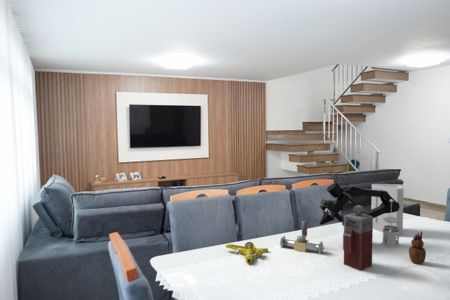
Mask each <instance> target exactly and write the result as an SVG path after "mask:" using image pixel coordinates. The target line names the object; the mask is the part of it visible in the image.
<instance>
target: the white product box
mask: <svg viewBox="0 0 450 300" xmlns="http://www.w3.org/2000/svg"><path fill="white" fill-rule="evenodd" d="M371 189H374V190H384V191H387V192H388V194H389V195H390V196H391V197H392V198H393V199H394V200H395V201H396V202H398V203H399V206H400V207H399V210H398V211H397V212H393V213H385V214H382V215H380V216H378V217H375V218H373V230H376V231H379V232H382V233H383V229H384V226H387V225H388V222H386V221H384V220H383V219H384V218H385V217H394V218H397V219H398V220H399V222H398V223H392V226H396V227H398V229H397V230H399V235H398V236H399V237H401V236H403V235H404V234H403V230H404V228H403V227H404V224H403V223H404V185H403V184H400V183H399V184H396V183H395V184H394V183H393V184H392V183H390V184H389V183H372V184H371ZM381 203H382V201H381V199H380V197H373V196H371V205H370V206H371V209H370V210H372V209H374V208H376V207H378V206H380V204H381ZM389 225H390V226H391V223H390V222H389ZM389 232H391V230H389Z"/></svg>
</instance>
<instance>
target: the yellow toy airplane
mask: <svg viewBox="0 0 450 300" xmlns="http://www.w3.org/2000/svg"><path fill="white" fill-rule="evenodd" d="M225 248H228V249H231V250H234V251H237V250H238V251H237V252H238V253H240V254H241V255H243V256H244V257H245V262H246V263H247V264H252V263H253V260H254V261H257V259H256V258H257V257H261V256H263V254H264V253H263V252H268V251H269V248H268V247H260V248H257V247H256V245H255V244H254V243H253V242H252V241H247V242H246V243H244V246H243V245H238V244H232V243H227V244H225Z"/></svg>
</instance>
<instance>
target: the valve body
mask: <svg viewBox="0 0 450 300" xmlns="http://www.w3.org/2000/svg"><path fill="white" fill-rule="evenodd" d="M279 244H280V245H279V246H280V248H284V247H285V248H290V249H293V250H294V251H297V252H304V253H306V252H307V251H308V252H314V253H318V254H319V255H321V254H323V253H324V244H323V241H320V242H319V243H312V242H309V239H306V241H305V242H299V241H297V238H296V239H294V240H293V239H287V238H286V236H284V235H283V236H282V237H281V238H280V241H279Z"/></svg>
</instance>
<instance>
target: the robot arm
mask: <svg viewBox="0 0 450 300" xmlns="http://www.w3.org/2000/svg"><path fill="white" fill-rule="evenodd" d="M326 192H327V193H328V194H329V195H330V196H331V197H333V198H334V200H331V199H328V200H327V199H324V198H322V199H321V200H320V202H319V203H320V206H319V208H320V210H321V211H322V212H323V215H322V216H321V220H320V221H319V225H320V226H323V225H325V224H327V223H330V222H334V221H336V220H337V222H339V223H341V225H342V226H343V227H344V216H342V215H341V214H340V212H341V211H343V212H344V211H345V210H344V208H345V207H346V205H347V204H348V203H350V204H353V203H354V201H353V200H354V198H355V197H363V196H364V197H372V196H373V197H380V199H381V201H382V203H381V204H380V206H378V207H376V208H374V209H372V210H371V209H370V210H367V211H364V212H363V214H365V215H369V216H372V217H373V218H375V217H378V216H380V215H382V214H385V213H393V212H397V211H398V210H399V207H400V206H399V203H398V202H396V201H395V200H394V199H393V198H392V197H391V196H390V195H389V194H388V192H387V191H384V190H374V189H372V188H362V187H359V186H356V185H352V184H347V185H346V186H344V187H341V186H340V184H339V183H338V182H335V181H334V182H333V183H331V184H329V185H328V186H327V187H326ZM390 199H392V200H393V202H392V212H391V202H390ZM335 219H336V220H335Z"/></svg>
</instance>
